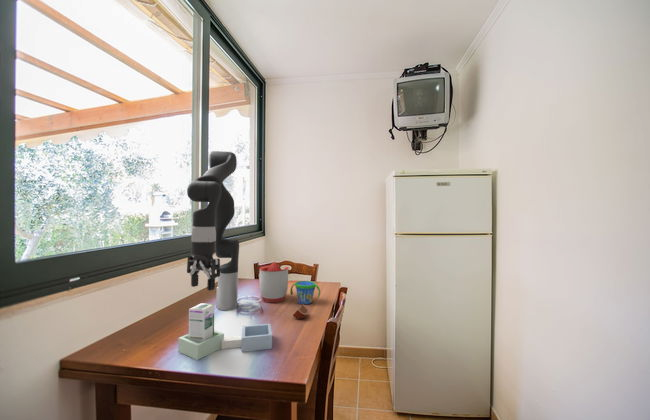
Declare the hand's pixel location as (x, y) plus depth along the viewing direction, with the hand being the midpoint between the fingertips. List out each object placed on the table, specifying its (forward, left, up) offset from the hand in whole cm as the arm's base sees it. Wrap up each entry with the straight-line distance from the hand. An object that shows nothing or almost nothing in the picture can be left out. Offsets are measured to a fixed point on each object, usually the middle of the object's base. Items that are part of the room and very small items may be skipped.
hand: (202, 288), depth 91 cm
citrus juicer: (-15, +54, -21) cm, 60 cm away
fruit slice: (+12, +40, -21) cm, 47 cm away
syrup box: (0, 0, -21) cm, 21 cm away
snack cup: (+2, +58, -21) cm, 62 cm away
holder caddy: (+6, +6, -20) cm, 22 cm away
